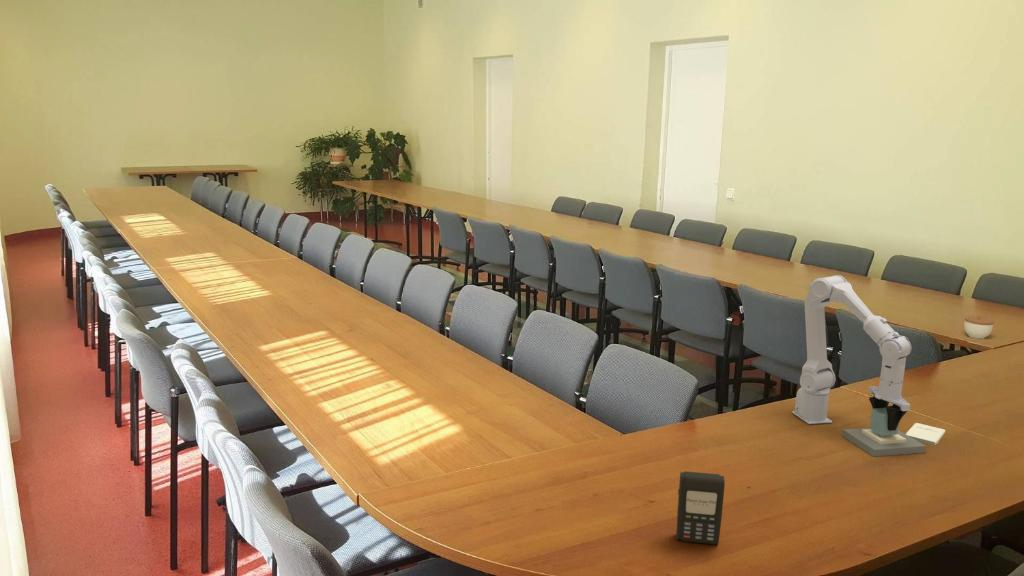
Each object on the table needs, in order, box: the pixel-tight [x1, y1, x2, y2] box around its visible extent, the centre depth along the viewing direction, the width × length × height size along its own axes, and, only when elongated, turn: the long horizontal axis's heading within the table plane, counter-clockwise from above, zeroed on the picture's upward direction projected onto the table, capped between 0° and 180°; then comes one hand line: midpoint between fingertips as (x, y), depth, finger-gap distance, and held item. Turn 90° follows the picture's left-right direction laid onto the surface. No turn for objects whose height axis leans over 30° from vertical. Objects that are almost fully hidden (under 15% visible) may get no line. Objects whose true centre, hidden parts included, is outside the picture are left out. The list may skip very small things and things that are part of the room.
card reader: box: [676, 471, 726, 545], centre depth 165 cm, size 9×4×15 cm, turn 81°
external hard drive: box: [905, 422, 946, 446], centre depth 226 cm, size 2×8×12 cm
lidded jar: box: [963, 314, 995, 340], centre depth 332 cm, size 11×11×9 cm
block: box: [869, 408, 899, 436], centre depth 217 cm, size 5×5×6 cm
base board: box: [841, 427, 927, 457], centre depth 218 cm, size 14×16×3 cm
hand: (885, 426), depth 217 cm, fingers closed on block, 5 cm apart
